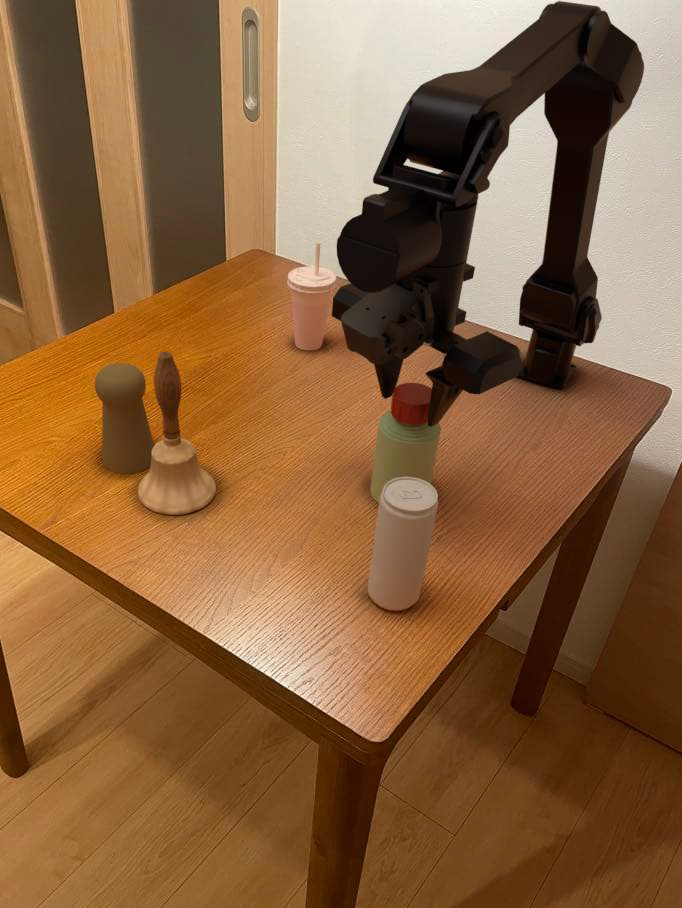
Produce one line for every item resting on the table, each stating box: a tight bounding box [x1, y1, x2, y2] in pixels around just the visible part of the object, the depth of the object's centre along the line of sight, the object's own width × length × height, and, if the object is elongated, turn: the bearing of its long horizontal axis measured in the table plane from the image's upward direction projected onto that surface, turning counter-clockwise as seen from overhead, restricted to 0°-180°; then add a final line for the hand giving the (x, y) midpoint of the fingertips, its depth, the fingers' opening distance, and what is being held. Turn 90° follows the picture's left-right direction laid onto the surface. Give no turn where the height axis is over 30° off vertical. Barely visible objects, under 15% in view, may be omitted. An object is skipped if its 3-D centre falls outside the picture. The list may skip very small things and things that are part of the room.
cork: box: [94, 362, 155, 475], centre depth 85 cm, size 6×6×11 cm
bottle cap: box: [390, 382, 432, 425], centre depth 78 cm, size 4×4×2 cm
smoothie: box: [286, 241, 337, 351], centre depth 105 cm, size 6×6×14 cm
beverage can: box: [367, 477, 439, 612], centre depth 70 cm, size 5×5×12 cm
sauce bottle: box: [369, 410, 442, 504], centre depth 82 cm, size 6×6×11 cm
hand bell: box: [137, 350, 217, 516], centre depth 79 cm, size 8×8×16 cm
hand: (409, 410), depth 78 cm, fingers open, 6 cm apart
